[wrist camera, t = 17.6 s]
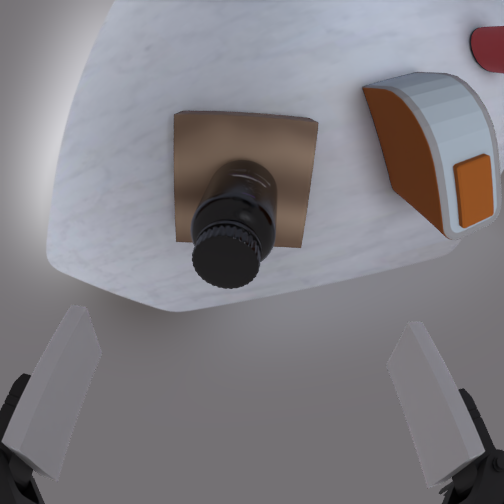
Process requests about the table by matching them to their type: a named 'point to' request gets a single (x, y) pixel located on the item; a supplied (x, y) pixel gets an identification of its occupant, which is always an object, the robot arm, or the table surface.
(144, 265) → the table surface
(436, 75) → the alarm clock
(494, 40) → the beer can
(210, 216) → the supplement bottle
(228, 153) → the walnut block
